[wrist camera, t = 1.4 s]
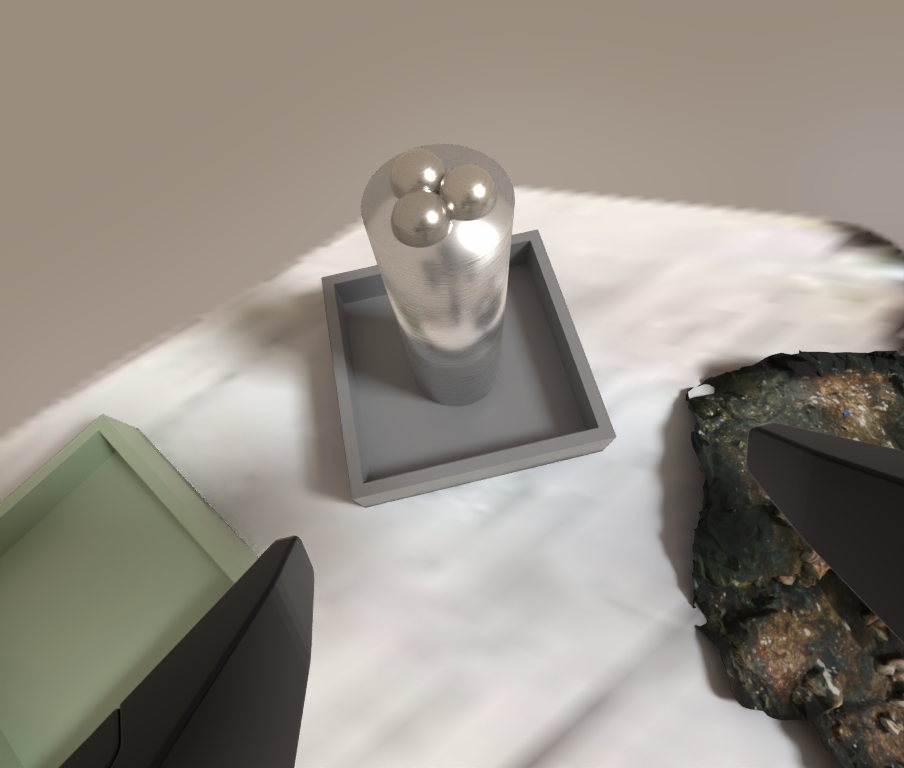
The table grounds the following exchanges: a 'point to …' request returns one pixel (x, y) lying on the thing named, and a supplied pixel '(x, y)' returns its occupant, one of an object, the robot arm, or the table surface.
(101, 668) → the tray
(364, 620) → the table surface
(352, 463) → the tray
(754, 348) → the table surface
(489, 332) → the pebble canister
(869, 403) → the decorative rock
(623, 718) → the table surface
